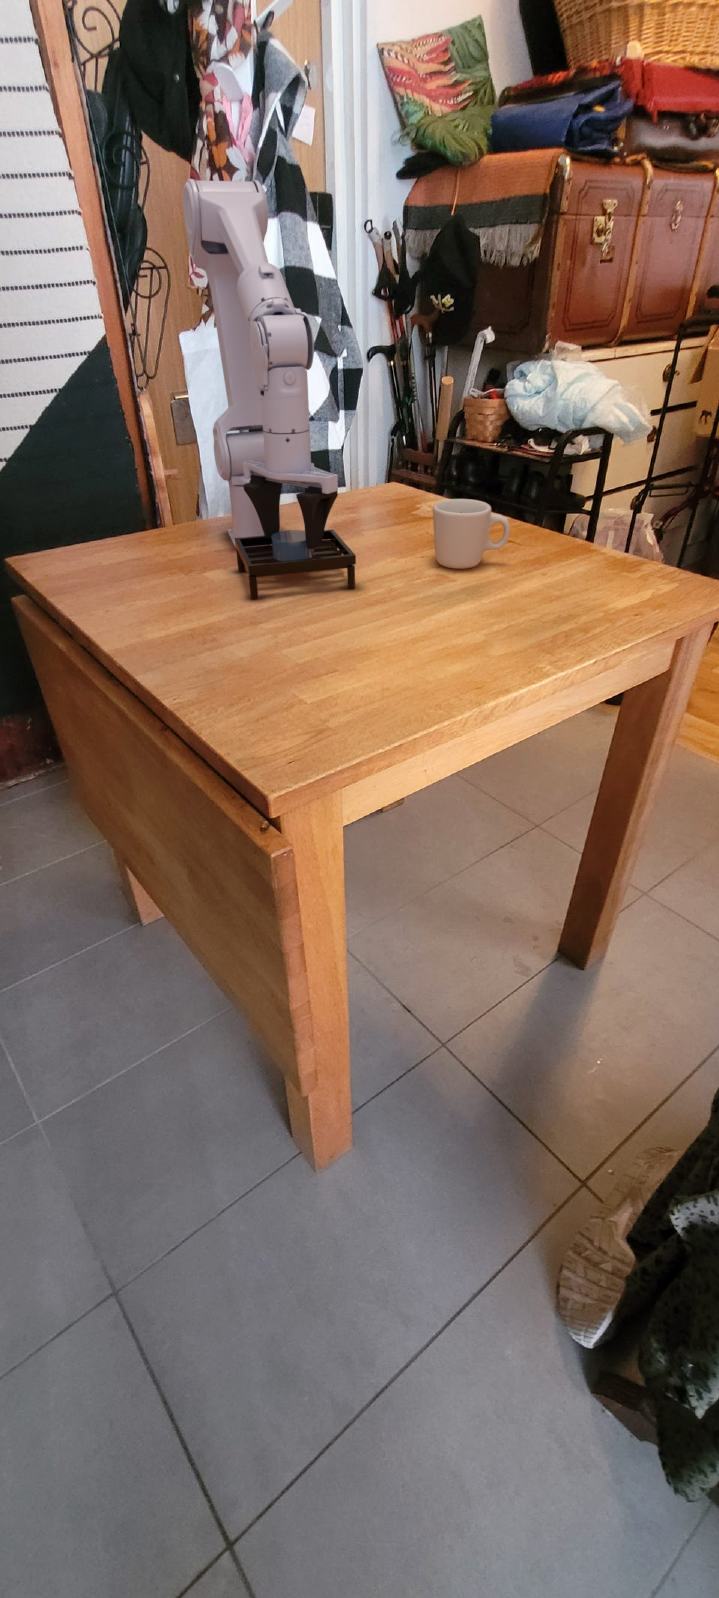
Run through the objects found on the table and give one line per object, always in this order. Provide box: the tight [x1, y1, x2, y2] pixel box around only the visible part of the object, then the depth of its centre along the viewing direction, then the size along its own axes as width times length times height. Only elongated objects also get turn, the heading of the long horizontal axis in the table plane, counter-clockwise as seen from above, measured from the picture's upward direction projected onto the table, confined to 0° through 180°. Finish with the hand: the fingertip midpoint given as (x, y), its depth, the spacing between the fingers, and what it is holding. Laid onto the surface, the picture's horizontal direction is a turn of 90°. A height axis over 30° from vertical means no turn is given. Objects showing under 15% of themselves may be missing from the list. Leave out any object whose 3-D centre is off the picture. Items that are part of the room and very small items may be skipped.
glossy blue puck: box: [271, 529, 314, 561], centre depth 102 cm, size 6×6×3 cm
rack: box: [234, 529, 357, 601], centre depth 104 cm, size 12×14×4 cm
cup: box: [432, 498, 511, 570], centre depth 107 cm, size 11×8×8 cm
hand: (292, 541), depth 102 cm, fingers open, 7 cm apart
